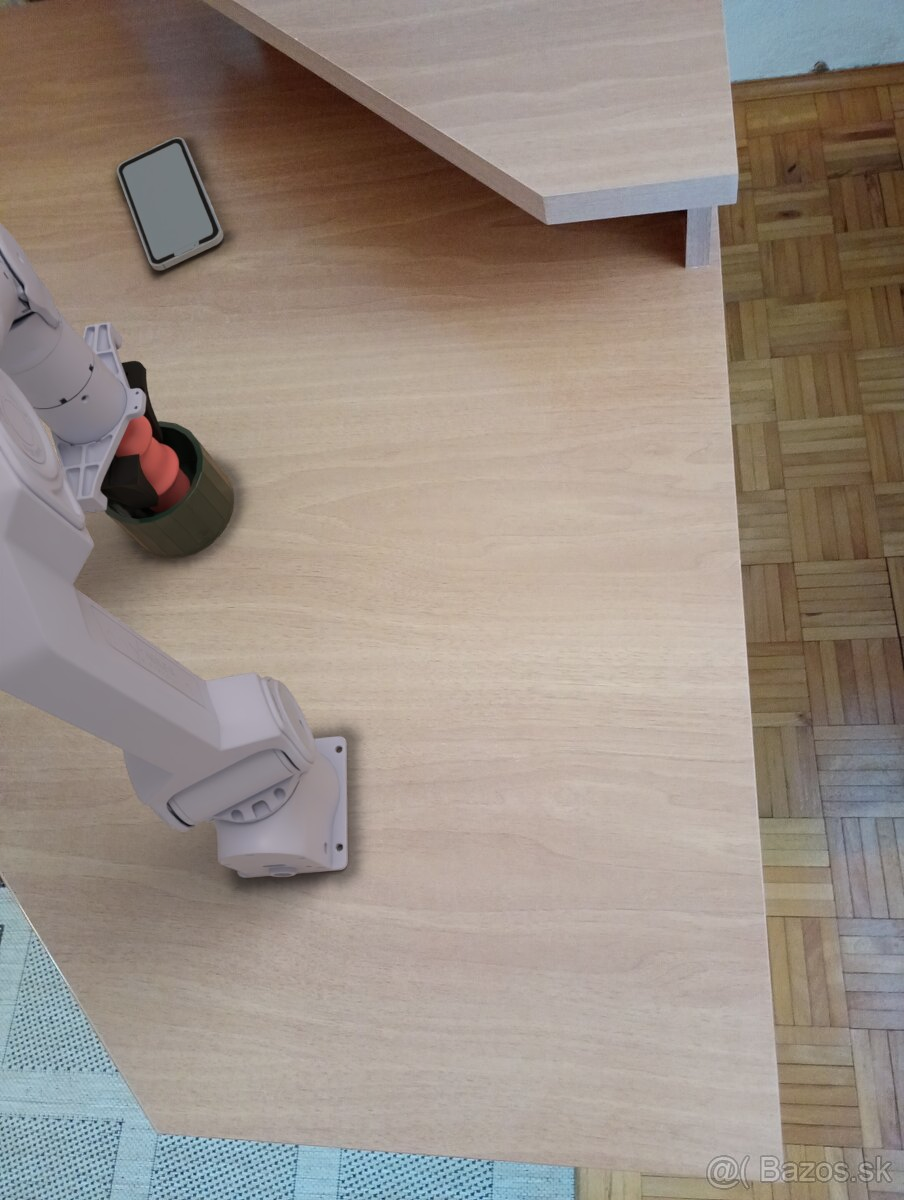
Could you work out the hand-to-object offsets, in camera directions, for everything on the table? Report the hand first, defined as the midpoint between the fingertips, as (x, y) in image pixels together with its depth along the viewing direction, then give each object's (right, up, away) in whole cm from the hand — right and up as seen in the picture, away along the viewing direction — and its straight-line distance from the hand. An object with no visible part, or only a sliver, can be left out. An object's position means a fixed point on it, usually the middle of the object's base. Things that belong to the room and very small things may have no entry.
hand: (148, 472), depth 83 cm
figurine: (+1, -1, +3) cm, 3 cm away
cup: (+1, -2, +6) cm, 6 cm away
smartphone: (-3, +28, +19) cm, 34 cm away
